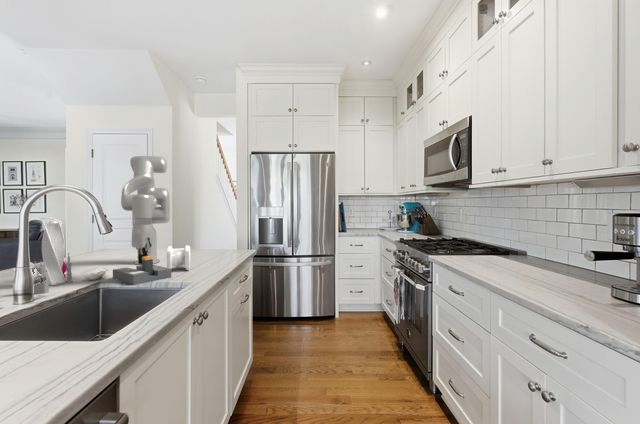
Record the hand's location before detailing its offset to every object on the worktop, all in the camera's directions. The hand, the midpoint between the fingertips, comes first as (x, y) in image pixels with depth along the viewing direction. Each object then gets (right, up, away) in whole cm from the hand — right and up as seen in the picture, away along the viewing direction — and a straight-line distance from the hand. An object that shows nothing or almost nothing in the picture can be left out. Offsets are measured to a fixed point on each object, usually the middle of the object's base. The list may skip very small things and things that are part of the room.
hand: (143, 263), depth 141 cm
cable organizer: (+8, -7, +20) cm, 22 cm away
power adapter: (-27, -8, -22) cm, 36 cm away
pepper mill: (-38, -7, -1) cm, 39 cm away
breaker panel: (-1, -7, +1) cm, 7 cm away
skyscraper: (-32, -7, -9) cm, 34 cm away
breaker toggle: (+3, -4, -2) cm, 6 cm away
